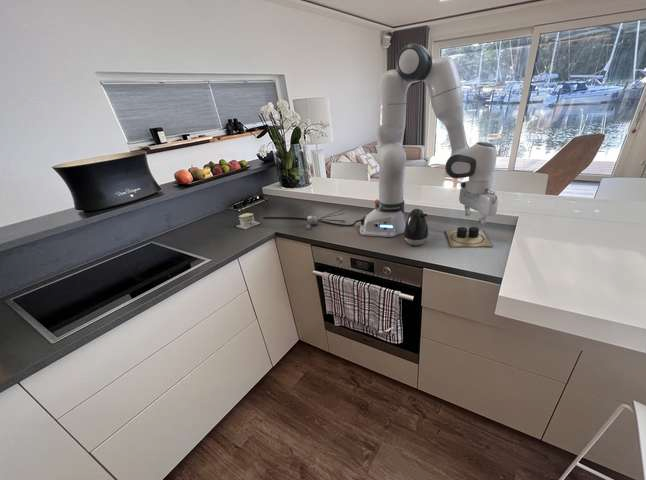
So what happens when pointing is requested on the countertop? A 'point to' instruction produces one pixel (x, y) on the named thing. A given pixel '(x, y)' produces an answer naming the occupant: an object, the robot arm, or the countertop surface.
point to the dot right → (473, 232)
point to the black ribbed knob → (461, 232)
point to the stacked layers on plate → (247, 221)
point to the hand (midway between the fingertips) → (474, 219)
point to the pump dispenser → (416, 227)
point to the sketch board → (467, 240)
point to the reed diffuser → (313, 220)
